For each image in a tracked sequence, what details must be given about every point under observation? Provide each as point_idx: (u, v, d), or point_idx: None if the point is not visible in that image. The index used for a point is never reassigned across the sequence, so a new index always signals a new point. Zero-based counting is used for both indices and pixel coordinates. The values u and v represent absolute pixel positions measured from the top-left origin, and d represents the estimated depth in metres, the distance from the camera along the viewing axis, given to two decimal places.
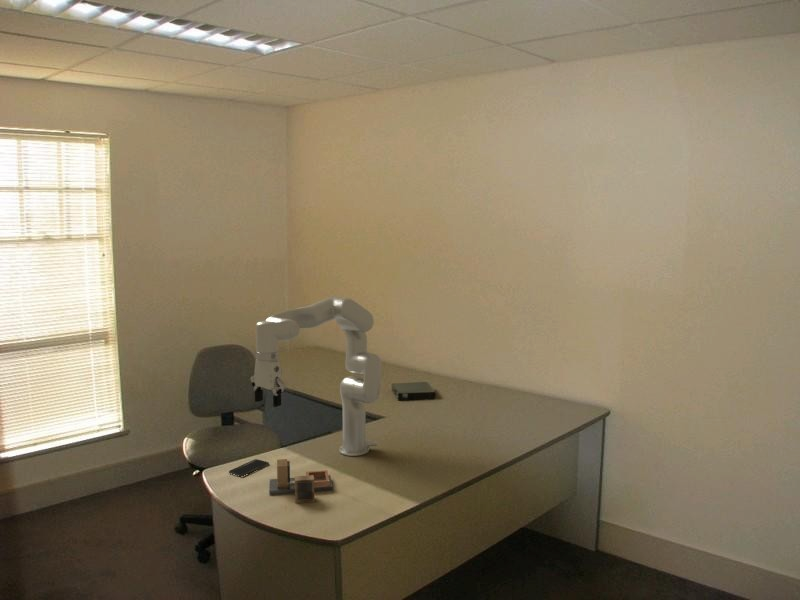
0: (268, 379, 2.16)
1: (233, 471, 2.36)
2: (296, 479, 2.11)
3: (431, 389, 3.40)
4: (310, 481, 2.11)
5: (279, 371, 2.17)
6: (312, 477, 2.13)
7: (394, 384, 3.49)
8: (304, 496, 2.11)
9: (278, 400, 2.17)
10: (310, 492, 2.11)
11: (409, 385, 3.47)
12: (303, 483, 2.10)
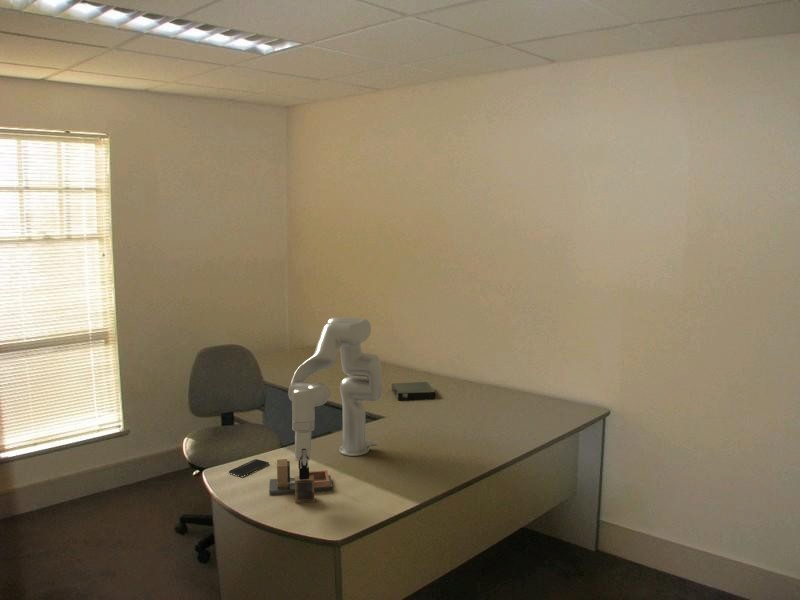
0: None
1: (233, 471, 2.36)
2: (296, 479, 2.11)
3: (431, 389, 3.40)
4: (310, 481, 2.11)
5: None
6: (312, 477, 2.13)
7: (394, 384, 3.49)
8: (304, 496, 2.11)
9: None
10: (310, 492, 2.11)
11: (409, 385, 3.47)
12: (303, 483, 2.10)
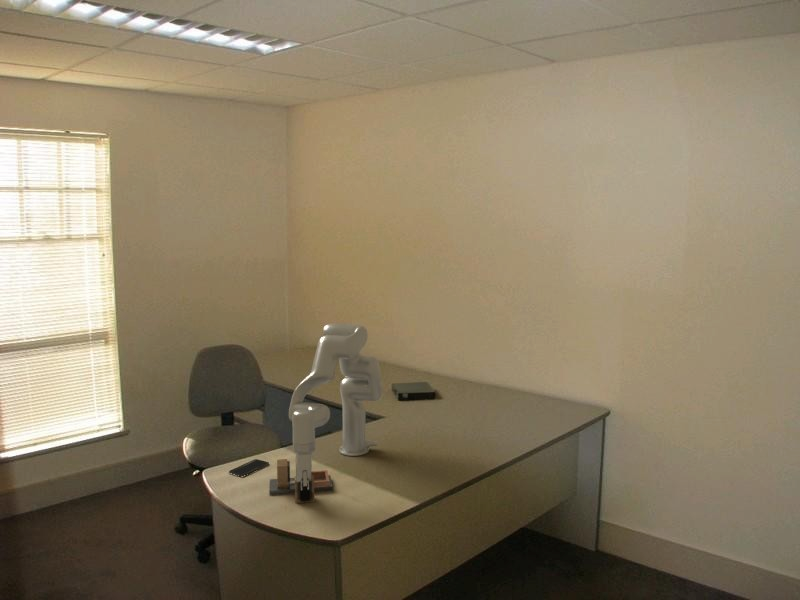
0: None
1: (233, 471, 2.36)
2: None
3: (431, 389, 3.40)
4: (310, 481, 2.11)
5: None
6: (312, 477, 2.13)
7: (394, 384, 3.49)
8: None
9: None
10: (310, 492, 2.11)
11: (409, 385, 3.47)
12: None
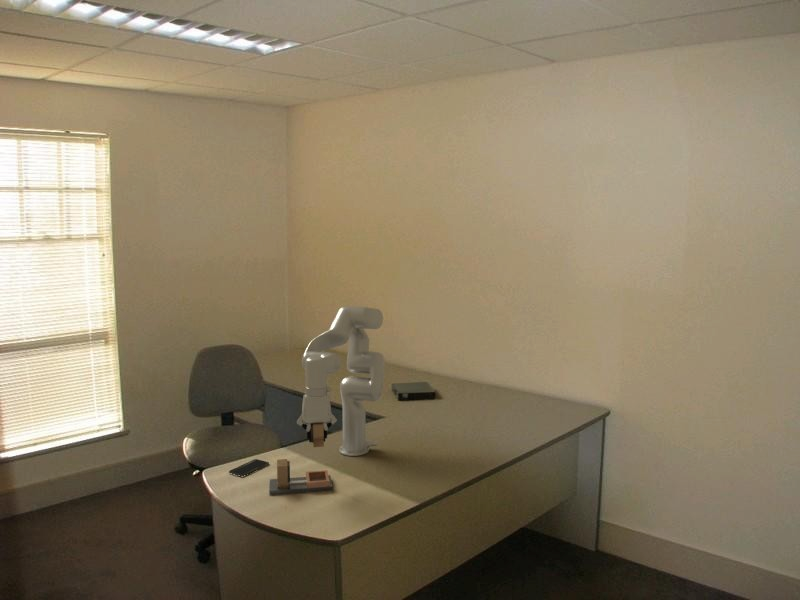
0: (325, 413, 2.20)
1: (233, 471, 2.36)
2: None
3: (431, 389, 3.40)
4: (312, 425, 2.20)
5: None
6: (318, 424, 2.20)
7: (394, 384, 3.49)
8: None
9: (326, 434, 2.23)
10: (311, 435, 2.21)
11: (409, 385, 3.47)
12: None
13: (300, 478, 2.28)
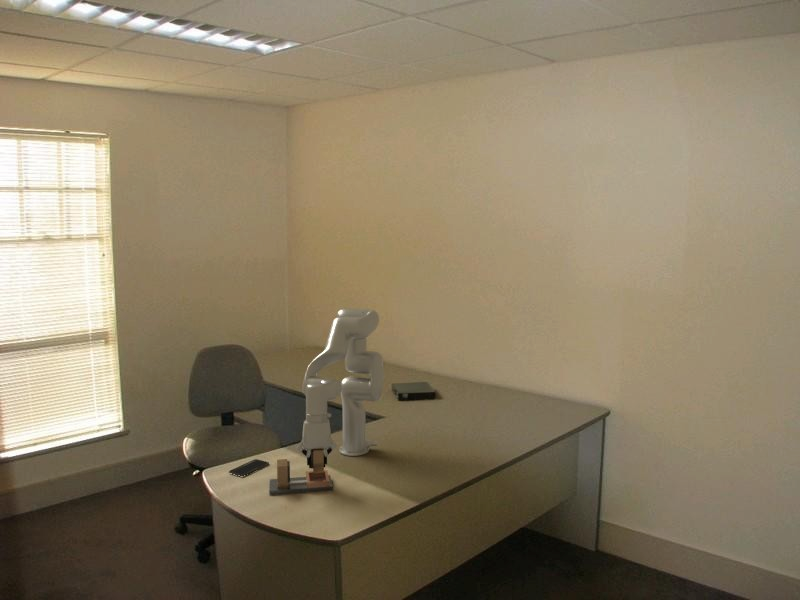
0: (325, 439, 2.21)
1: (233, 471, 2.36)
2: None
3: (431, 389, 3.40)
4: (312, 451, 2.21)
5: (330, 429, 2.25)
6: (318, 450, 2.21)
7: (394, 384, 3.49)
8: None
9: (326, 460, 2.24)
10: (311, 461, 2.22)
11: (409, 385, 3.47)
12: None
13: (300, 478, 2.28)
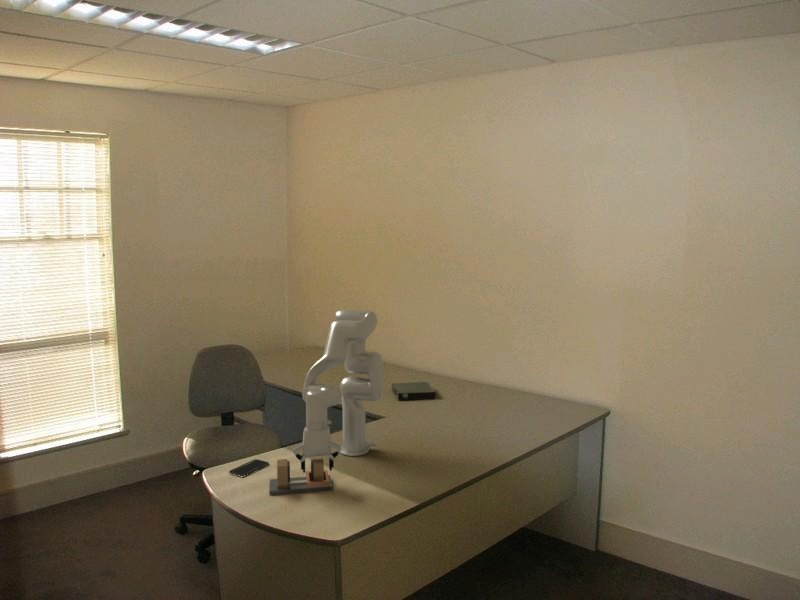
0: (326, 446, 2.22)
1: (233, 471, 2.36)
2: (315, 457, 2.27)
3: (431, 389, 3.40)
4: (312, 464, 2.22)
5: (330, 435, 2.25)
6: (318, 463, 2.21)
7: (394, 384, 3.49)
8: None
9: None
10: (311, 474, 2.22)
11: (409, 385, 3.47)
12: (311, 462, 2.24)
13: (300, 478, 2.28)
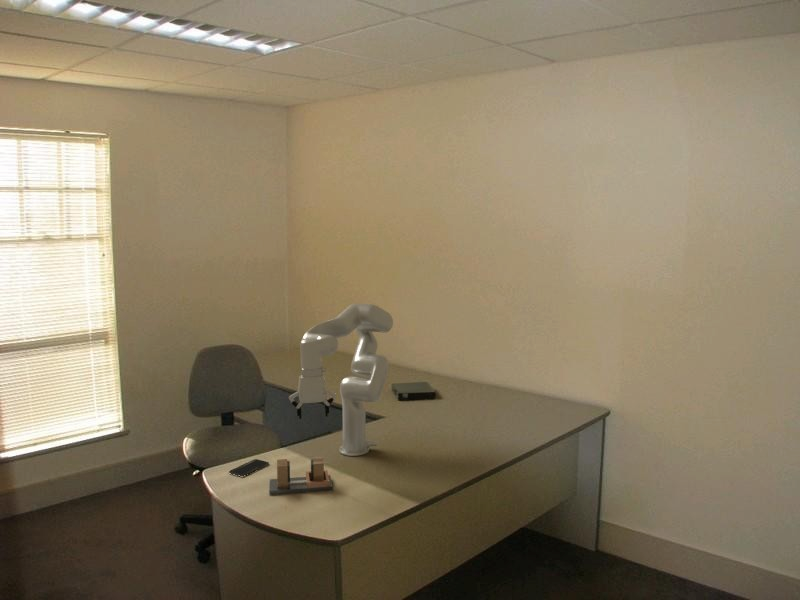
0: (321, 392, 2.28)
1: (233, 471, 2.36)
2: (315, 457, 2.27)
3: (431, 389, 3.40)
4: (312, 464, 2.22)
5: None
6: (318, 463, 2.21)
7: (394, 384, 3.49)
8: None
9: (328, 409, 2.32)
10: (311, 474, 2.22)
11: (409, 385, 3.47)
12: (311, 462, 2.24)
13: (300, 478, 2.28)
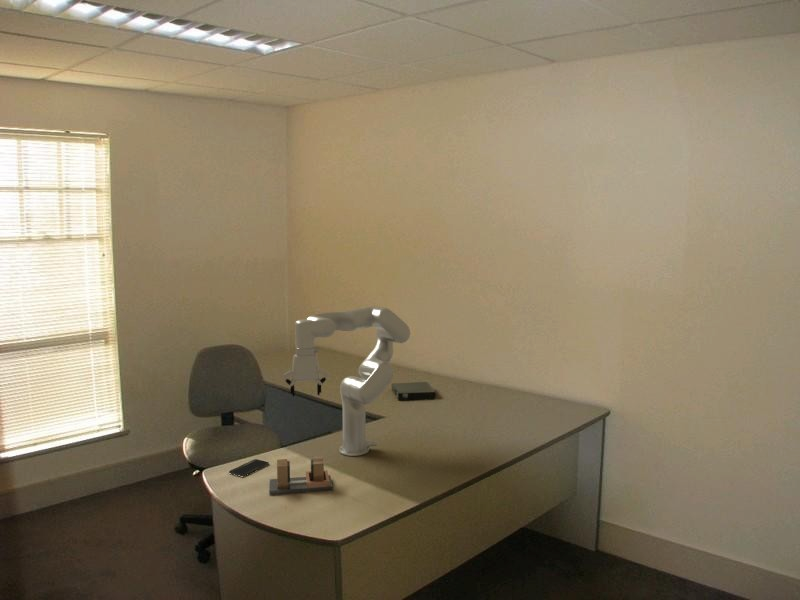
0: (314, 371, 2.38)
1: (233, 471, 2.36)
2: (315, 457, 2.27)
3: (431, 389, 3.40)
4: (312, 464, 2.22)
5: None
6: (318, 463, 2.21)
7: (394, 384, 3.49)
8: None
9: None
10: (311, 474, 2.22)
11: (409, 385, 3.47)
12: (311, 462, 2.24)
13: (300, 478, 2.28)
